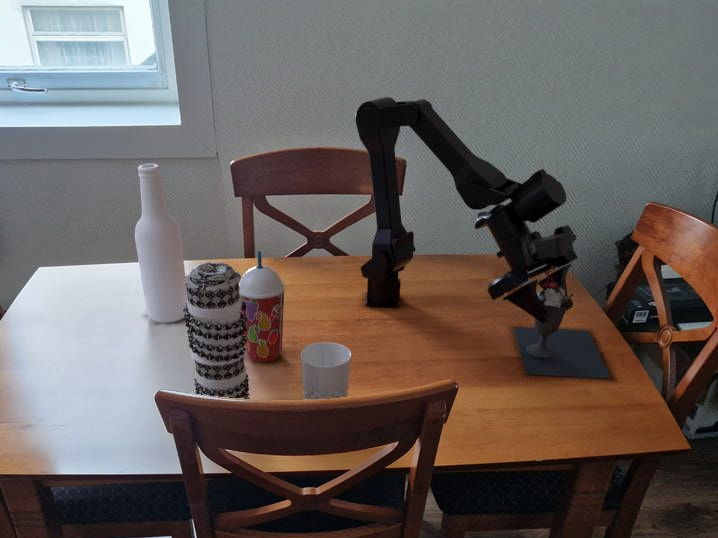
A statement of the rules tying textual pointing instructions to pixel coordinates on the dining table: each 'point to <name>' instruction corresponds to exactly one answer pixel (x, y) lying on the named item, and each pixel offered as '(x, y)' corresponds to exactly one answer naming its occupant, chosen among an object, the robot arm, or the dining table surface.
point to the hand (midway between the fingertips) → (556, 315)
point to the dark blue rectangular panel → (563, 354)
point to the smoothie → (263, 311)
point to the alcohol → (159, 251)
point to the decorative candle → (217, 330)
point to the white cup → (325, 370)
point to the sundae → (550, 316)
